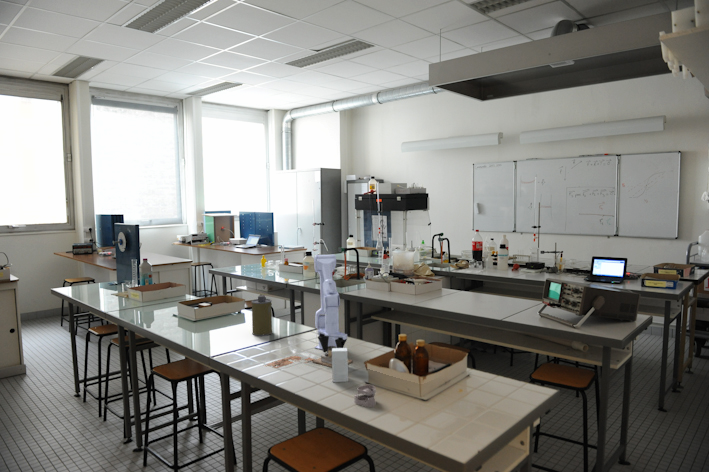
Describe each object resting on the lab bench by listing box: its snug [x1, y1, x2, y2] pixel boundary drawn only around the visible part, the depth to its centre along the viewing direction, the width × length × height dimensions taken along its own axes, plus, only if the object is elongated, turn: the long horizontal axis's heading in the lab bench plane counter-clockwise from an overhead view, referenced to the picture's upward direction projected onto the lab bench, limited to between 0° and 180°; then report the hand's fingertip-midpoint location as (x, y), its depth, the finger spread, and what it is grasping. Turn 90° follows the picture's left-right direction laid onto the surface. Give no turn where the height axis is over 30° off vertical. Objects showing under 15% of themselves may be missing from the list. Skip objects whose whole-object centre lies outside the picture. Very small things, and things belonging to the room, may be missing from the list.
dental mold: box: [354, 384, 377, 408], centre depth 159 cm, size 8×7×5 cm
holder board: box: [311, 352, 353, 368], centre depth 200 cm, size 10×14×3 cm
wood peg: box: [327, 346, 337, 357], centre depth 200 cm, size 4×4×6 cm
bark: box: [262, 355, 316, 369], centre depth 200 cm, size 22×12×1 cm, turn 139°
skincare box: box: [331, 347, 349, 383], centre depth 180 cm, size 6×4×12 cm
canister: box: [251, 294, 273, 337], centre depth 247 cm, size 11×10×20 cm
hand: (332, 353), depth 200 cm, fingers open, 7 cm apart
